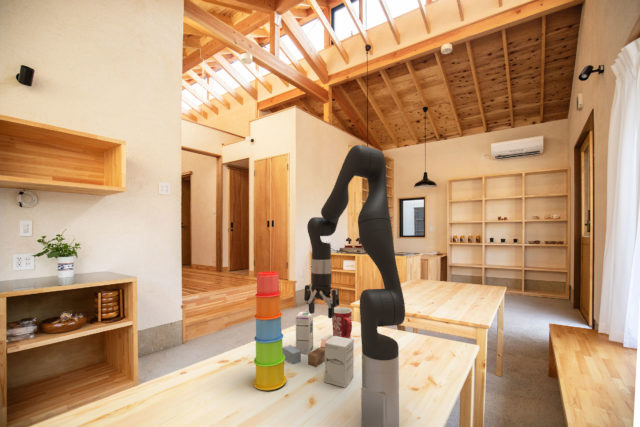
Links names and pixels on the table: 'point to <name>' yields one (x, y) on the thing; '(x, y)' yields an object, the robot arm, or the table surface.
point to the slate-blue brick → (292, 354)
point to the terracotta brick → (323, 343)
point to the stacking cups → (268, 334)
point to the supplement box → (339, 361)
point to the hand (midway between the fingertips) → (321, 315)
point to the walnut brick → (316, 357)
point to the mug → (342, 322)
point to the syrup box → (304, 332)
